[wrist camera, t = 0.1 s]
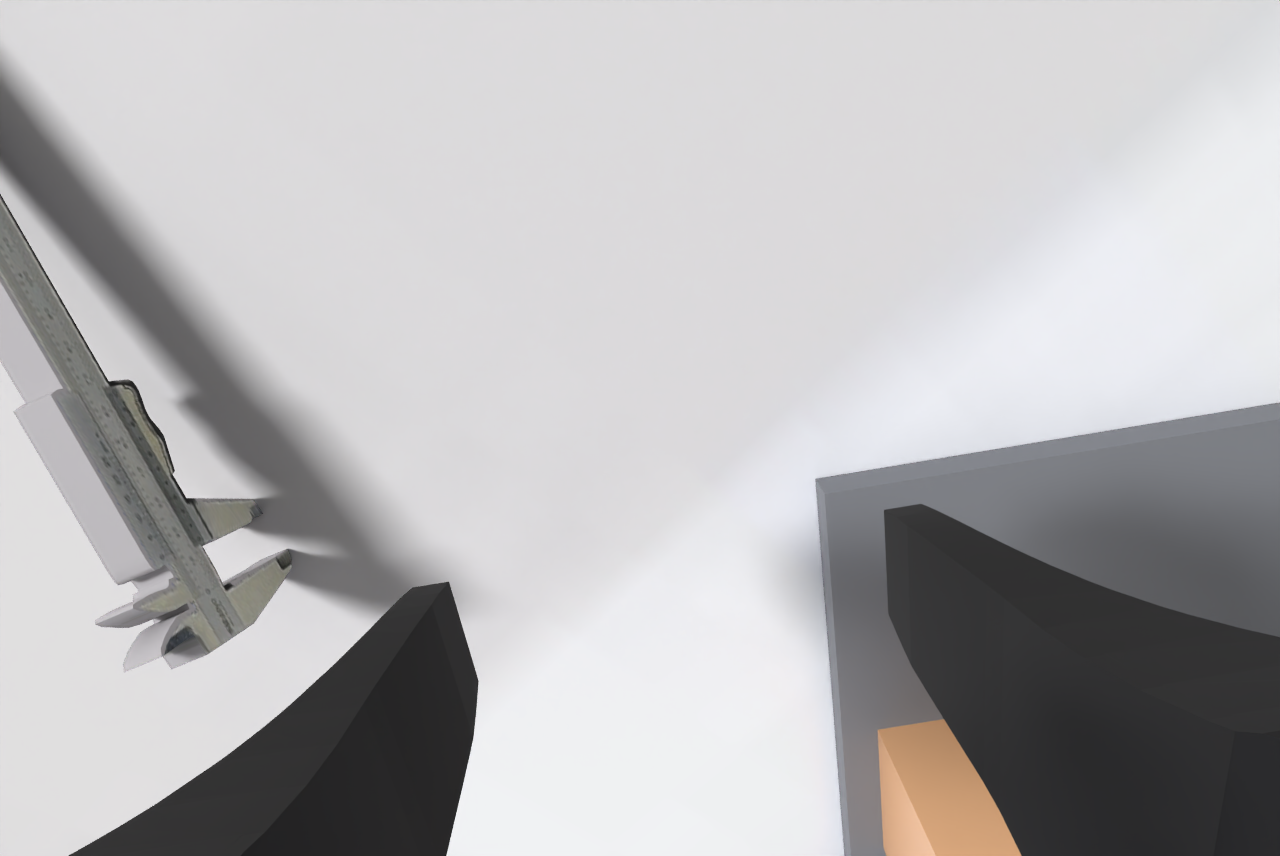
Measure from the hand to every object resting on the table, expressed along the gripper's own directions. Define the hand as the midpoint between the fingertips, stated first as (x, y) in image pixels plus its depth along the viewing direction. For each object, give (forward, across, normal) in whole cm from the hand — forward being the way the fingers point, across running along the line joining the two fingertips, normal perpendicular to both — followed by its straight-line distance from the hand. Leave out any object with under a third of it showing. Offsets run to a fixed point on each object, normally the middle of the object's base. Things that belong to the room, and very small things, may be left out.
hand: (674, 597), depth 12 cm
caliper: (+10, +14, -6) cm, 19 cm away
